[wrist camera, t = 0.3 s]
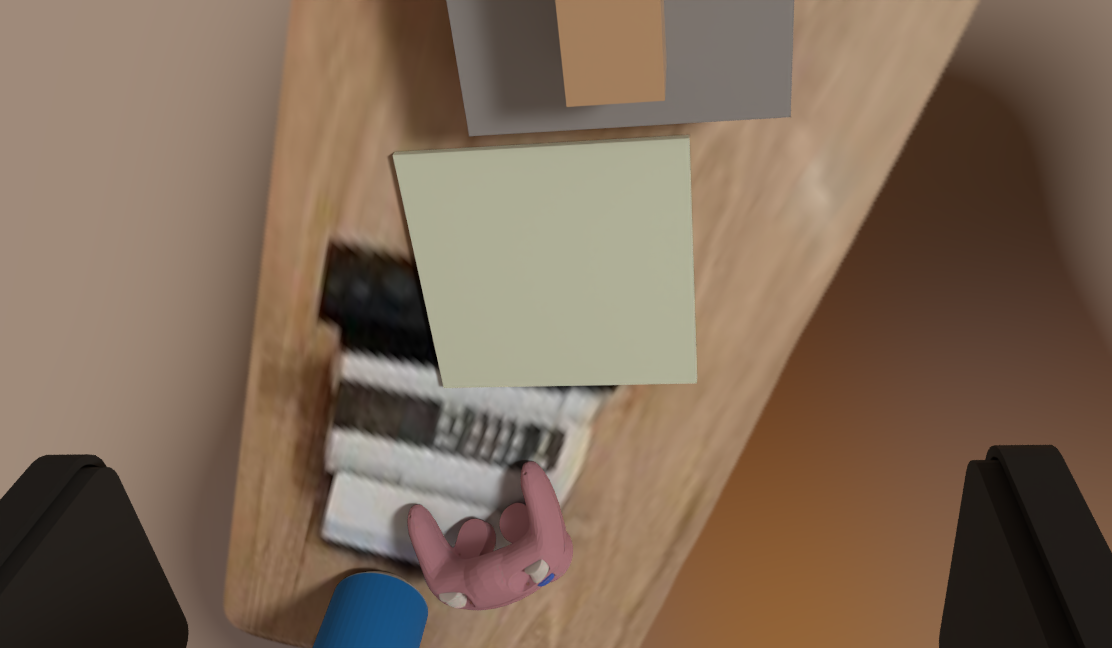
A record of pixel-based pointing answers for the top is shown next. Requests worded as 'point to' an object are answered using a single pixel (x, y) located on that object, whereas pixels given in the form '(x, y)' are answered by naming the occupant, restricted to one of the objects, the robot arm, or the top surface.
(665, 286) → the mat
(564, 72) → the lid
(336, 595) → the beverage can
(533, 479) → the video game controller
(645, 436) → the top surface
